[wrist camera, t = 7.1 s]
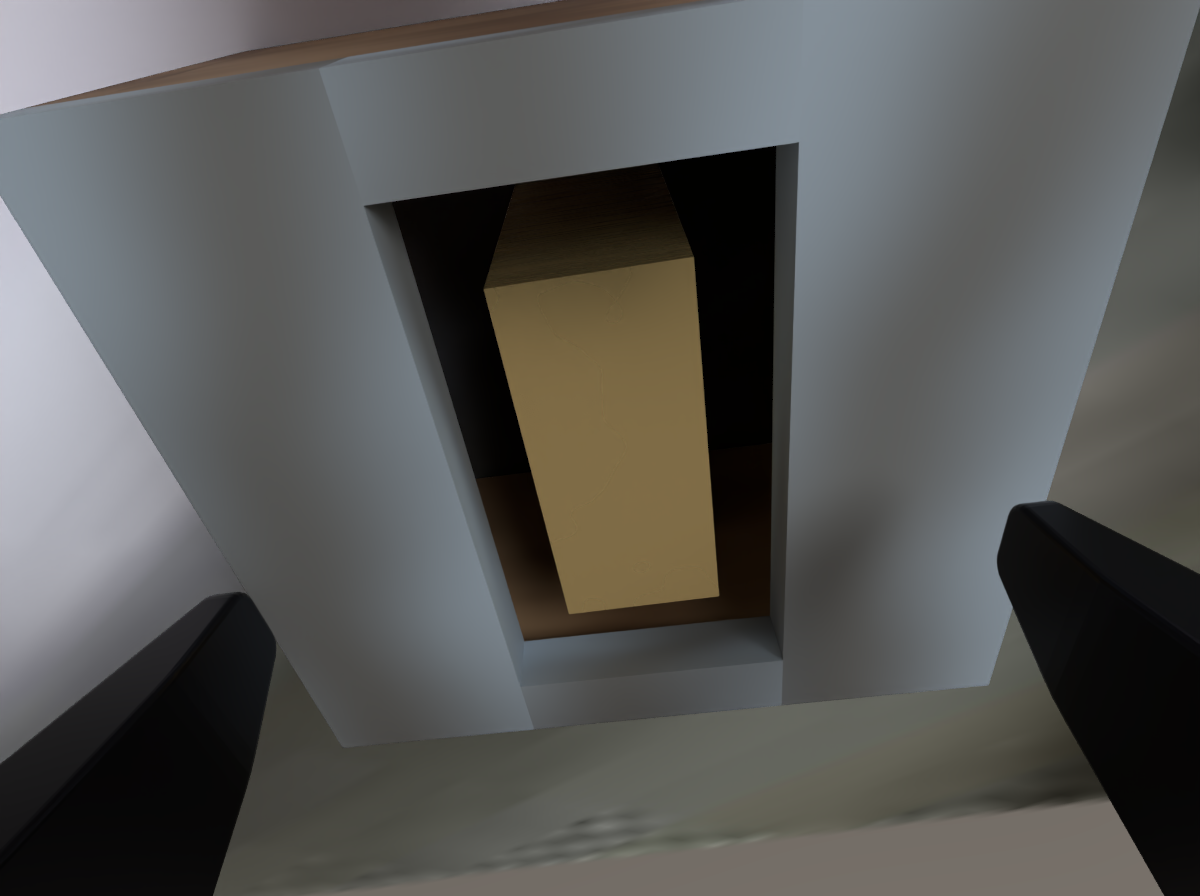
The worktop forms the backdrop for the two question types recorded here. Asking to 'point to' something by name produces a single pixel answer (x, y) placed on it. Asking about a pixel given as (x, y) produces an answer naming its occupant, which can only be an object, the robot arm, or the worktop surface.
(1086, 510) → the worktop surface
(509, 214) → the wooden rectangular block
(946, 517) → the coin box
